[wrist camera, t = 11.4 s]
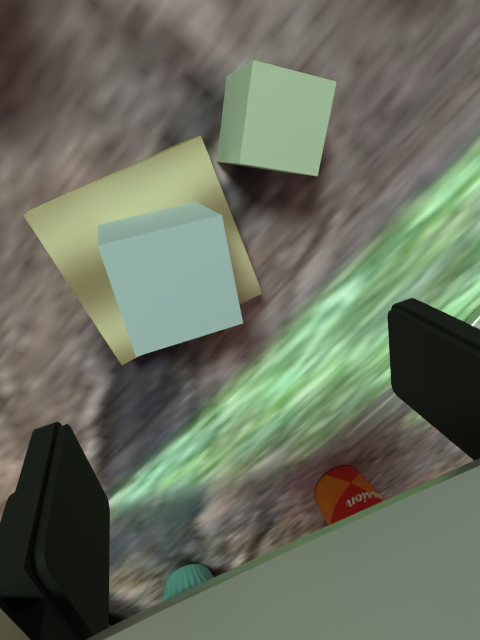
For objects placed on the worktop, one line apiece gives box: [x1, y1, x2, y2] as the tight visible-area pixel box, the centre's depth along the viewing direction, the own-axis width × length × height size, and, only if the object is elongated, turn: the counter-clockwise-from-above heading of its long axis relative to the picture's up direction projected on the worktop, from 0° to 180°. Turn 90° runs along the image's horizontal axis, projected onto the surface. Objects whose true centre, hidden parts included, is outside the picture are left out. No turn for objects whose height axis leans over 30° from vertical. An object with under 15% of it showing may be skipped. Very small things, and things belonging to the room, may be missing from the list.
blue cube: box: [98, 202, 243, 357], centre depth 22 cm, size 6×6×6 cm
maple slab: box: [24, 136, 262, 365], centre depth 26 cm, size 11×11×3 cm
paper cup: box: [314, 466, 385, 526], centre depth 36 cm, size 8×8×14 cm
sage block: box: [217, 60, 336, 176], centre depth 24 cm, size 5×5×5 cm
